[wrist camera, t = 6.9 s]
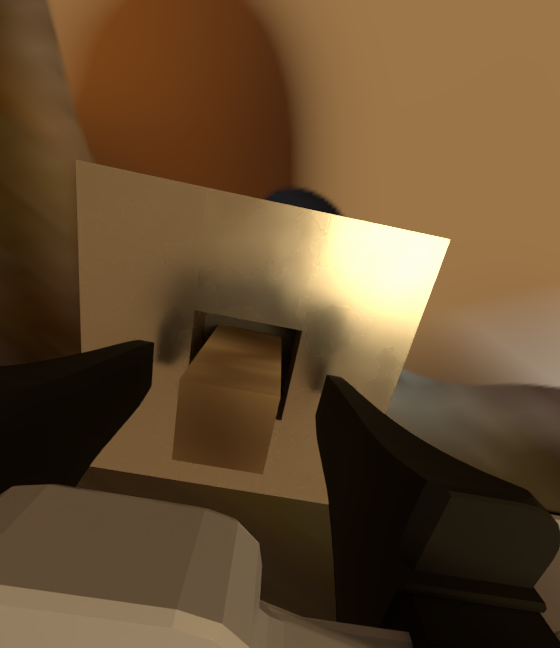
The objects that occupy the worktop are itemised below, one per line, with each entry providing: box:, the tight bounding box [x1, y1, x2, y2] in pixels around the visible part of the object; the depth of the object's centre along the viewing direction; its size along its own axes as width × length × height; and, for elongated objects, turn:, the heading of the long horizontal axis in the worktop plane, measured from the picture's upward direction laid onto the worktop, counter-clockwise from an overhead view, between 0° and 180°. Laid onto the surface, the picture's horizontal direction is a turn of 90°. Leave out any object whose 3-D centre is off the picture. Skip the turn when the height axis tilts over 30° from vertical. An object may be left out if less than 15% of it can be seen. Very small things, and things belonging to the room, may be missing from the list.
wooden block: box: [172, 324, 282, 475], centre depth 12 cm, size 3×3×6 cm
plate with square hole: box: [76, 160, 450, 504], centre depth 13 cm, size 14×14×2 cm
